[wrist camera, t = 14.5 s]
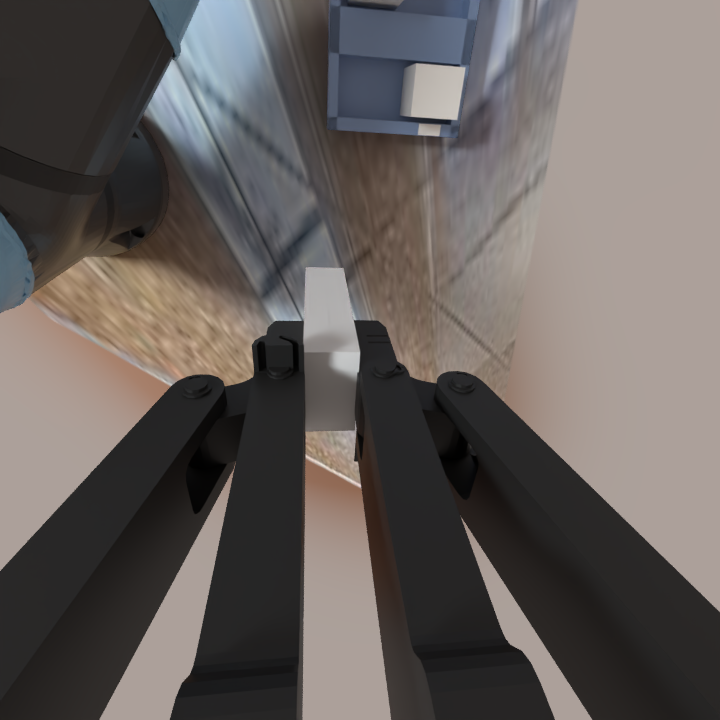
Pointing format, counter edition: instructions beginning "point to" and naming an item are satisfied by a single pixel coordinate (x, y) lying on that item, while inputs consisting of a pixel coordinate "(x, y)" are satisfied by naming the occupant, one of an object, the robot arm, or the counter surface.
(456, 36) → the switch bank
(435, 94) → the white block
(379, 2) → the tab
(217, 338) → the counter surface
